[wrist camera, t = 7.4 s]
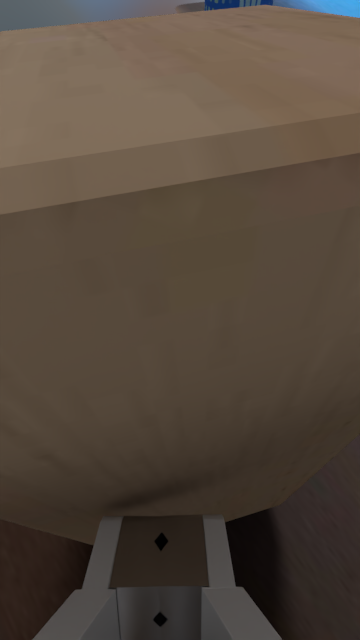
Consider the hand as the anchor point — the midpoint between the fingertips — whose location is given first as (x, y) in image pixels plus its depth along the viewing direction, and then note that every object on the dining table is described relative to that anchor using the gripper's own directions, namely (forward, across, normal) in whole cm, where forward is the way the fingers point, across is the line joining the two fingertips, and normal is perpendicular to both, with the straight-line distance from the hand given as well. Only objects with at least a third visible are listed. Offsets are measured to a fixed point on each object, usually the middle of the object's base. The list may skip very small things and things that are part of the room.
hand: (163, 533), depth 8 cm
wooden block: (+12, +1, -6) cm, 13 cm away
